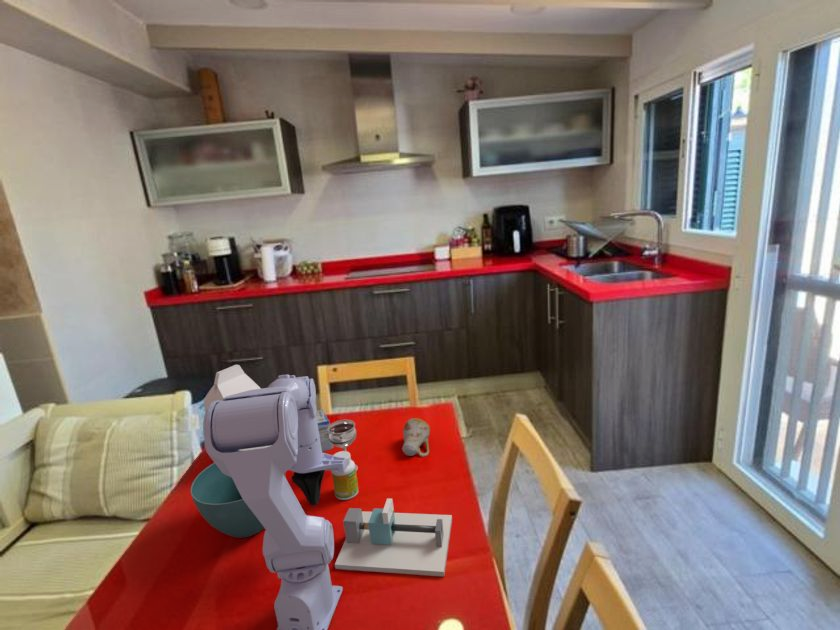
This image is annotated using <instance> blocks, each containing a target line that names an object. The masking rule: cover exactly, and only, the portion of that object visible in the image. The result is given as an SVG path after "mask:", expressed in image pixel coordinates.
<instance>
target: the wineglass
mask: <svg viewBox="0 0 840 630" xmlns="http://www.w3.org/2000/svg"><path fill="white" fill-rule="evenodd" d="M355 426H356V423H355V422H354V421H353V420H351V419H340V420H336V421H333V422H332V423H330V425H329V426H328V431H329V440H330V442H331V443H332V444H333V446H335V447H337V448H341V449H343V450H342V451H347V447H349V446H350V445H352V444H353V443H354V442H355V440H356V438H357V429H356V427H355ZM355 468H356V472H357V471H358V469H359V467H358V465H357V464H355Z"/></svg>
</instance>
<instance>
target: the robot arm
mask: <svg viewBox="0 0 840 630" xmlns="http://www.w3.org/2000/svg"><path fill="white" fill-rule="evenodd" d="M277 376H278V377H277V378H276V380H274V381H273V382H271V383H270V384H269V385H268V386H267V387H265V388H261V389H254V390H249V391H245V392H241V393H237V394H234V395H230V396H226V397H225V398H223V401H220V400H216V401H213V402H212V403H211V404H210V405H209V407H208V409H207V410H206V412H204V415H203V421H202V428H203V429H202V430H203V431H202V432H203V437H204V448H205V451H206V454H208V457H209V458H210V459H211V460H212V461H213V463H215V464H216V465H217V467H218V468H219V469H220V470H221V472H222V473H223V474H225V475H227V476H229V477H232V479H233V481H234V483H235V485H236V487H237V489H238V491H239V493H240V495H241V497H242V499H243V500H244V502H245V503H246V504H247V506H248V507H249V508H250V510H251V511H252V512H253V513H254V515H255V516H256V517H257V519H258V520H259V521H260V523H261V524H262V525H263V527H264V529H265V531H264V534H263V540H262V555H263V557H264V561H265V564H266V568H267V569H268V570H269V572H270V573H274V574H275V573H276V574H277V578H278V579H281V581H280V586H279V587H280V588H279V590H278V594H277V596H276V598H275V600H274V603H273V606H274V607H273V608H274V612H275V617H276V622H277V628H276V630H328V628H329V626H330V624H331V622H332V618H333V616H334V614H335V611H336V609H337V608H336V607H337V606H338V603H339V600H340V598H341V595H342V593H343V591H344V589H343V586H340V585H332V580H331V574H330V568H329V564H330V563H331V561H333V558H334V556H335V555H334V554H335V539H334V538H335V537H334V536H335V535H334V529H333V524H332V523H331V522H330V521H329V520H328V519H325V517H323V516H316V515H309V514H308V515H307V514H306V513H305V511H304V509H303V508H302V507H303V506H302V504H300V502H299V500H298V498H297V496H296V495H295V493H294V491H293V489H292V487H291V485H290V483H289V482H288V479H287V477H286V475H285V476H284V473H285V474H286V472H287V471H291V472H293V475H292V477H291V481H292V483H294V484H295V485H296V486H297V487H298V488H299V490H300V491H301V492H302V494H303V495H304V497H305V498H306V500H307V502H308V504H309V506H317V505H318V504H319V502H320V500H321V490H322V484H323V480H324V479H323V478H324V476H325V473H326V471H331V470H338V471H339V473H344V472H345V470H346V468H347V461H346V458H342V457H336V456H333V455H334V454H329V453H326V452H322V448H321V442H320V436H319V430H318V424H317V418H316V412H317V411H318V409H317V401H316V400H317V393H316V392H317V391H316V390H317V389H316V384H315V380H314V379H313V378H309V376H307V375H306V376H298V377H296V375H294V374H292V375H290V374H281V375H277ZM270 445H272V446H270ZM263 446H270V447H267V448H260V449H253V450H246V451H240V450H241V449H248V448H255V447H263Z"/></svg>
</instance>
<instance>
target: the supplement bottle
mask: <svg viewBox="0 0 840 630" xmlns="http://www.w3.org/2000/svg"><path fill="white" fill-rule="evenodd" d="M332 455H333V456H336V457H342V458H346V461H347V468H346V470H345V472H344V473H339V471H338V470H330V473H331V476H332V483H333V489H334V496H335V497H336V499H338V500H341V501H346V500H347V501H348V500H350V499H353V498H355V497H356V496H357V495H358V494H359V483H358V477H357V471H356V468H355V465H356V464H355V461H354V460H352V458H351V456H352V455H351V453H350V452H349V451H348V450H346V451H343V450H342V451H341V450H340V451H338V452H335V453H334V454H332Z"/></svg>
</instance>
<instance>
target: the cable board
mask: <svg viewBox="0 0 840 630" xmlns="http://www.w3.org/2000/svg"><path fill="white" fill-rule="evenodd" d="M372 512H373V511H366V510H365V511H362V508H359V507H358V508H356V507H354V508H353V507H349V508H348V510H347V512H346V514H345V516H344V518H343V521H342V523H343V528H344V533H345V534H344V535H345V540H344V542H343V545H342V547H341V549H340V551H339V553H338V556H337V558H336V561H335V563H334V568H335V570H346V571H361V572H372V573H373V572H376V573H388V574H389V573H391V574H402V575H403V574H404V575H405V574H406V575H417V576H418V575H419V576H431V577H445V572H446V568H447V567H446V565H447V559H448V552H449V544H450V539H451V531H452V530H451V529H452V523H453V515H452V514H436V513H434V514H432V513H431V514H430V513H411V512H410V513H409V512H394V516H395V524H392V526H391V530H392V531H395V533H392V538H393V541H392V544H374V543H371V539H370V532H369V526H368V522H369V520H370V517H371V514H372Z"/></svg>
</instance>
